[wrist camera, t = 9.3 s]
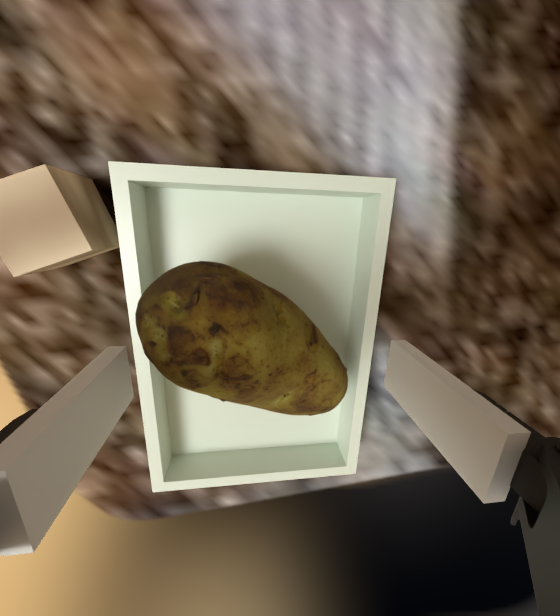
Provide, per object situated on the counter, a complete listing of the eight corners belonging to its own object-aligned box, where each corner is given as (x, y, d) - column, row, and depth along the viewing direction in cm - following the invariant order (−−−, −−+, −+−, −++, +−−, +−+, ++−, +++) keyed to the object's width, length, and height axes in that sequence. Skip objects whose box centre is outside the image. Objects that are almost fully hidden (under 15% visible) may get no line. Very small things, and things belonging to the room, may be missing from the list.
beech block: (27, 201, 16) (-42, 193, 12) (92, 179, 16) (44, 163, 12) (65, 266, 17) (14, 277, 13) (125, 245, 17) (92, 250, 13)
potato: (252, 421, 21) (257, 529, 14) (146, 285, 17) (69, 330, 10) (343, 368, 21) (401, 448, 13) (256, 217, 17) (267, 208, 9)
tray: (132, 173, 16) (108, 161, 13) (371, 186, 18) (396, 178, 15) (164, 457, 22) (152, 492, 19) (342, 444, 24) (355, 473, 21)
